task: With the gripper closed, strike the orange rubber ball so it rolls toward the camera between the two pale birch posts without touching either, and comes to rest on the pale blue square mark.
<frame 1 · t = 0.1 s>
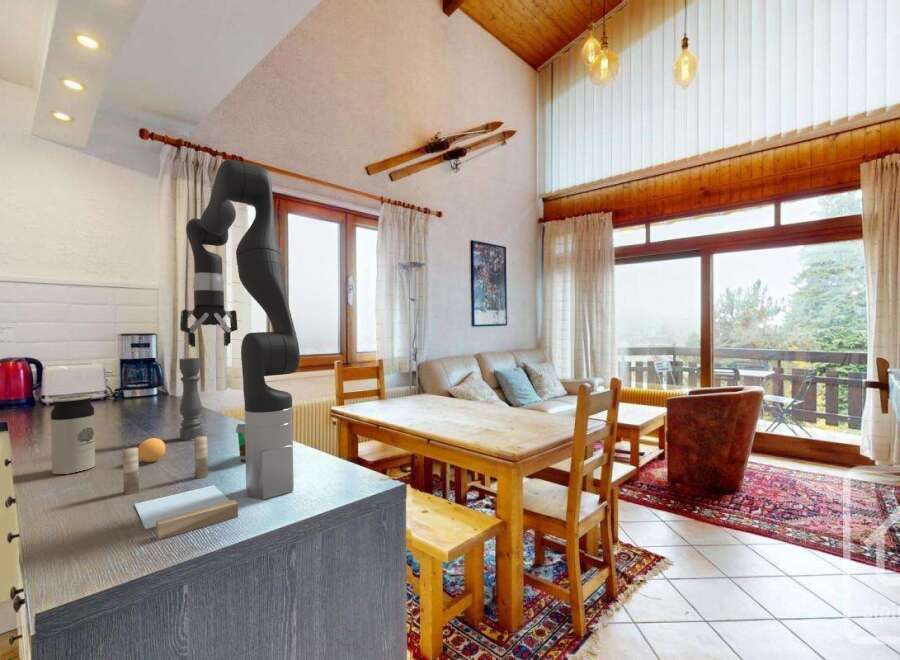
hand: (210, 346, 123), 29 cm above the countertop, tool pointing down, fingers open, 8 cm apart
travel mug: (74, 470, 105), on the countertop
right post: (201, 476, 99), on the countertop
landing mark: (183, 505, 83), on the countertop
left post: (131, 491, 90), on the countertop
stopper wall: (199, 525, 74), on the countertop
ball: (151, 450, 111), on the countertop
candle holder: (191, 438, 134), on the countertop
food container: (262, 458, 113), on the countertop
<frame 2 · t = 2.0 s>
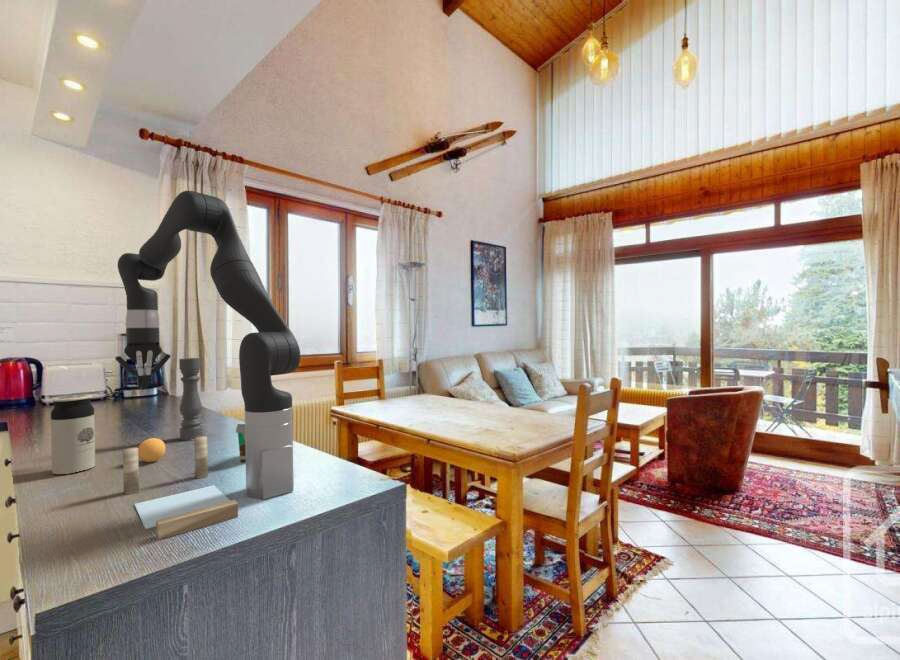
hand: (144, 388, 119), 18 cm above the countertop, tool pointing down, fingers closed
nothing on the countertop moved.
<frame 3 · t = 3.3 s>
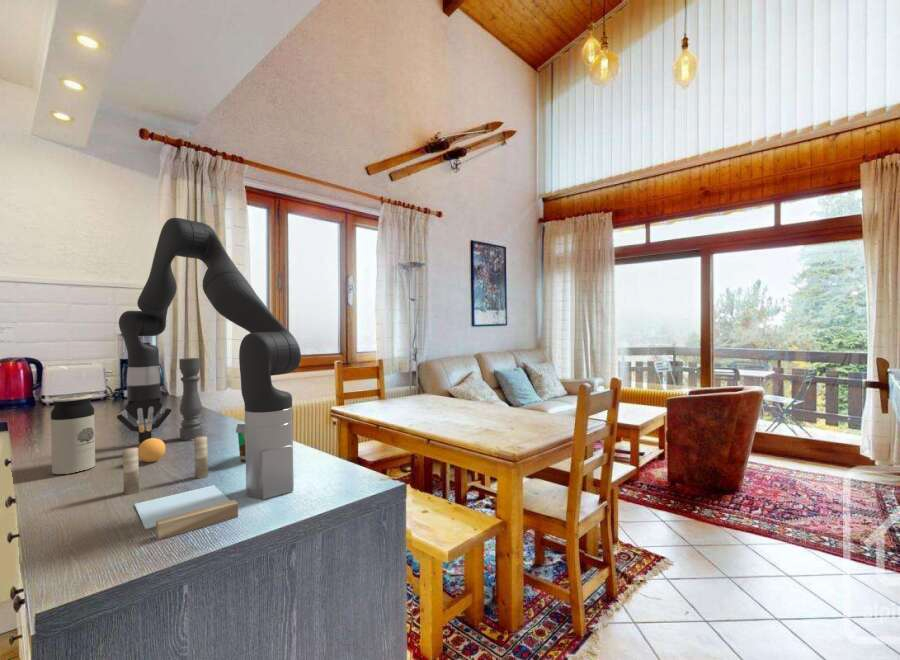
hand: (145, 444, 119), 2 cm above the countertop, tool pointing down, fingers closed
nothing on the countertop moved.
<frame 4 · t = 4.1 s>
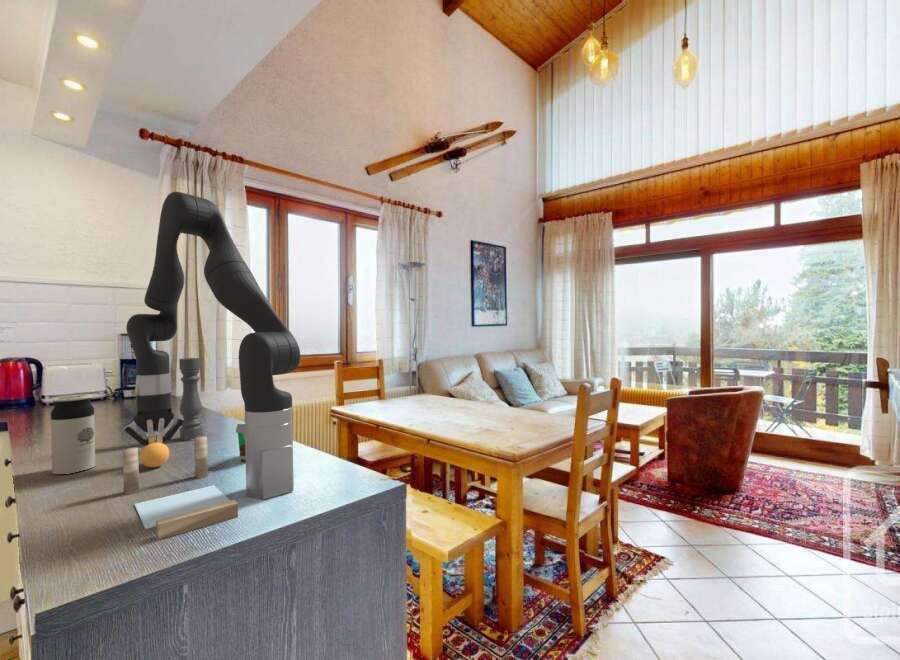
hand: (155, 458, 110), 1 cm above the countertop, tool pointing down, fingers closed
ball: (154, 454, 106), on the countertop, touching gripper
everything else where it was.
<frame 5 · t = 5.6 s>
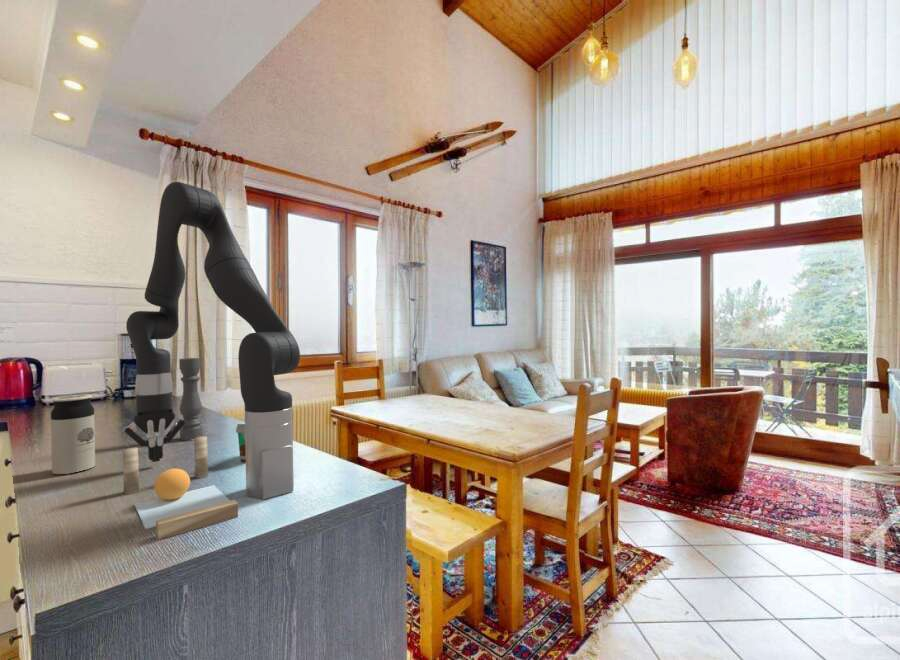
hand: (155, 460, 106), 2 cm above the countertop, tool pointing down, fingers closed
ball: (172, 484, 86), on the countertop
everything else where it was.
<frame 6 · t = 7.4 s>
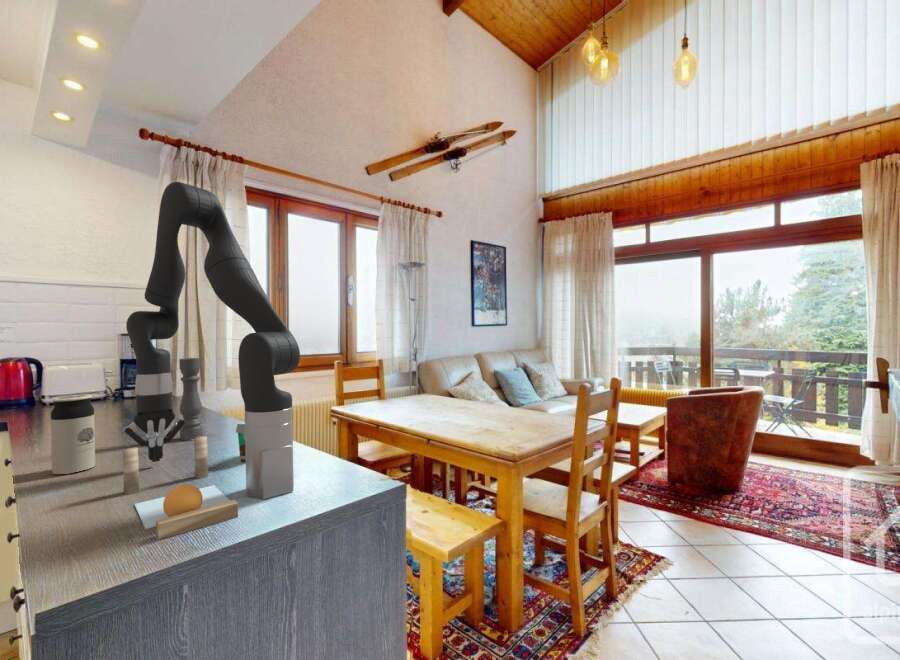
hand: (155, 460, 106), 2 cm above the countertop, tool pointing down, fingers closed
ball: (183, 501, 77), on the countertop
everything else where it was.
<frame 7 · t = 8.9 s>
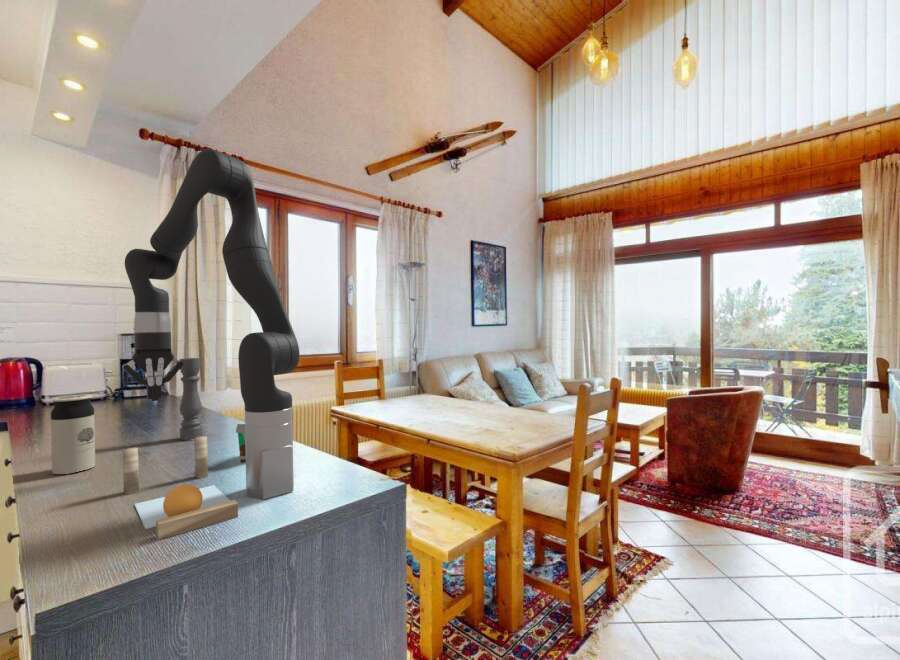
hand: (154, 400, 106), 17 cm above the countertop, tool pointing down, fingers closed
nothing on the countertop moved.
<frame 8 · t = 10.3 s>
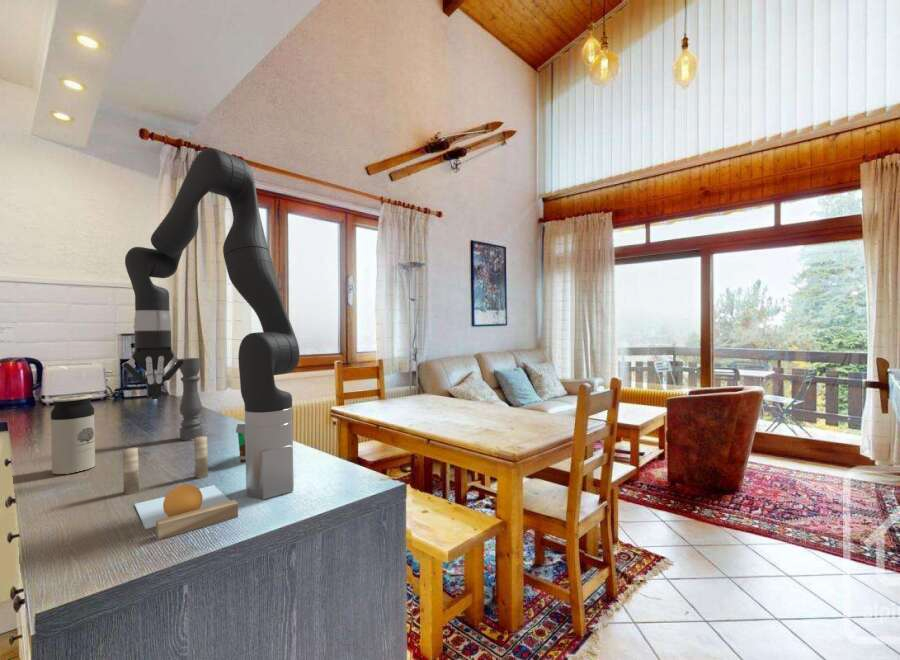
hand: (154, 398, 106), 17 cm above the countertop, tool pointing down, fingers closed
nothing on the countertop moved.
at the end: ball 6.8 cm from the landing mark (horizontally); ball never touched left post; ball never touched right post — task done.
